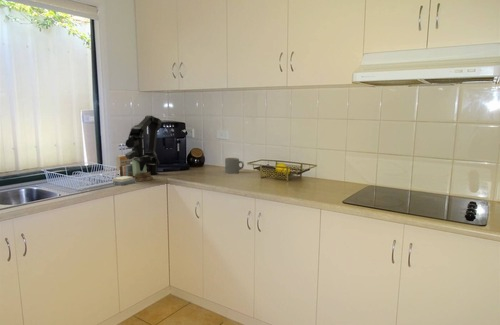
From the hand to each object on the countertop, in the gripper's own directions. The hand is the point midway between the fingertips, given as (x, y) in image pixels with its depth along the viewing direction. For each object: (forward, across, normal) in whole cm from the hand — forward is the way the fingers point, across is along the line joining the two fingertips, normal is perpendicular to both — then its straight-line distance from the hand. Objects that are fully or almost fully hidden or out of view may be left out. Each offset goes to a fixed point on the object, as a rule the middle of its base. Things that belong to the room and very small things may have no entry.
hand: (139, 170), depth 219 cm
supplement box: (+6, -25, +4) cm, 26 cm away
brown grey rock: (+6, -4, 0) cm, 7 cm away
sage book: (+3, 0, 0) cm, 3 cm away
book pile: (+6, +3, -13) cm, 15 cm away
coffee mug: (+6, +30, +58) cm, 66 cm away
